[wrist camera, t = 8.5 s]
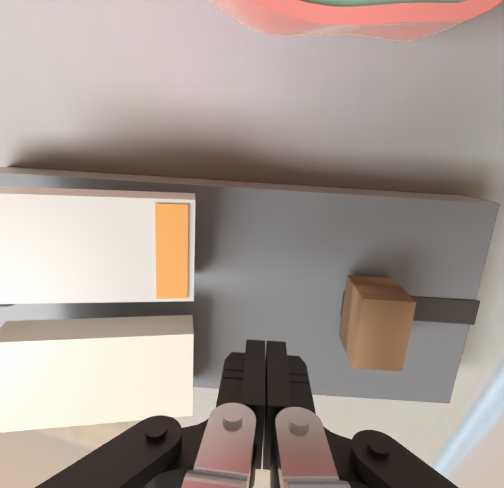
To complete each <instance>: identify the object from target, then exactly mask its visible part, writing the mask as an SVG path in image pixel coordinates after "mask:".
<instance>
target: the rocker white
mask: <svg viewBox="0 0 504 488" xmlns="http://www.w3.org/2000/svg"><path fill="white" fill-rule="evenodd" d="M194 258H195V193H177V192H149V191H121V190H94V189H66V188H38V187H10V186H0V304H42V303H107V302H172V301H194Z"/></svg>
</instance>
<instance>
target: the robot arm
mask: <svg viewBox="0 0 504 488" xmlns="http://www.w3.org/2000/svg"><path fill="white" fill-rule="evenodd" d="M262 446H263V469H268V470H270V488H458V487H457V486H456V485H454V484H453V483H452V482H450V481H449V480H448V479H446V478H445V477H444V476H442V475H441V474H440V473H438V472H437V471H436V470H434V469H433V468H432V467H430V466H429V465H428V464H426V463H425V462H423V461H422V460H421V459H419V458H418V457H417V456H415V455H414V454H413V453H411V452H410V451H409V450H407V449H406V448H405V447H403V446H402V445H401V444H399V443H398V442H397V441H395V440H394V439H393V438H391V437H390V436H388V435H386V434H384V433H382V432H379V431H374V430H363V431H360V432H358V433H357V434H355V435H354V437H353V439H352V440H351V439H348V438H345V437H342V436H339V435H336V434H334V433H332V432H330V431H329V430H327V429H326V428H325V427H324V426H323V424H322V422H321V420H320V418H319V417H318V416H317V415H316V413H315V408H314V403H313V397H312V392H311V387H310V381H309V376H308V371H307V365H306V364H305V362H304V361H303V360H302V359H301V358H300V356H291V355H287V349H286V342H283V341H267V342H266V356H265V340H249V339H247V340H246V350H245V353H242V352H231V353H230V354H229V355H228V357H227V358H226V359H225V361H224V366H223V372H222V378H221V382H220V388H219V393H218V399H217V404H216V408H215V409H214V410H213V411H212V412H211V414H210V416H209V419H207V420H206V421H204V422H202V423H200V424H198V425H194V426H190V427H185V428H181V426H180V424H179V422H178V421H177V420H175V419H174V418H172V417H169V416H163V415H158V416H152V417H149V418H146V419H144V420H142V421H141V422H139V423H137V424H136V425H134V426H133V427H131V428H129V429H128V430H126V431H125V432H123V433H121V434H120V435H118V436H117V437H115V438H113V439H112V440H110V441H109V442H107V443H106V444H104V445H102V446H101V447H99V448H98V449H96V450H94V451H93V452H91V453H90V454H88V455H86V456H85V457H83V458H82V459H80V460H78V461H77V462H75V463H74V464H72V465H71V466H69V467H67V468H66V469H64V470H62V471H61V472H59V473H58V474H56V475H54V476H53V477H51V478H50V479H48V480H47V481H45V482H43V483H42V484H40V485H39V486H37V487H35V488H253V486H254V481H255V469H261V460H262Z"/></svg>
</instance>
